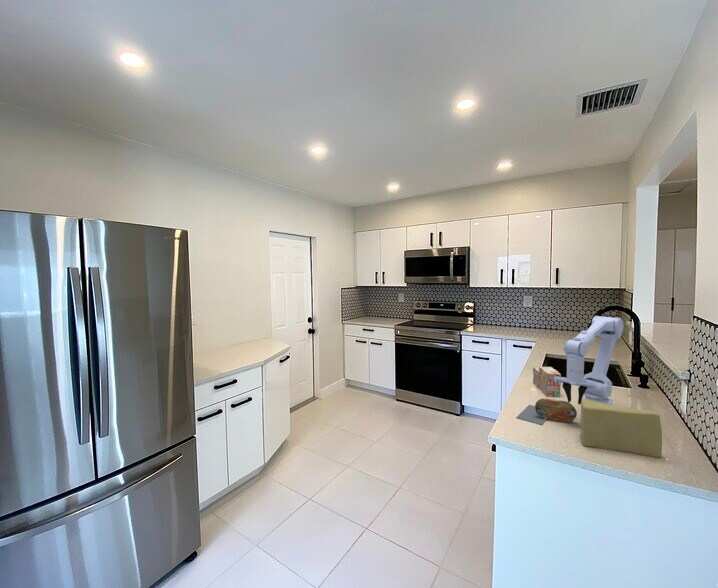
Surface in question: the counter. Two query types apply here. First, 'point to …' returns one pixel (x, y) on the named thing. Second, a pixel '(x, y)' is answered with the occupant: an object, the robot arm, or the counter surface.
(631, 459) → the counter surface
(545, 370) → the printed cardboard box
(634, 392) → the counter surface
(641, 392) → the counter surface
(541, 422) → the mat
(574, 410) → the tin
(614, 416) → the cheese
